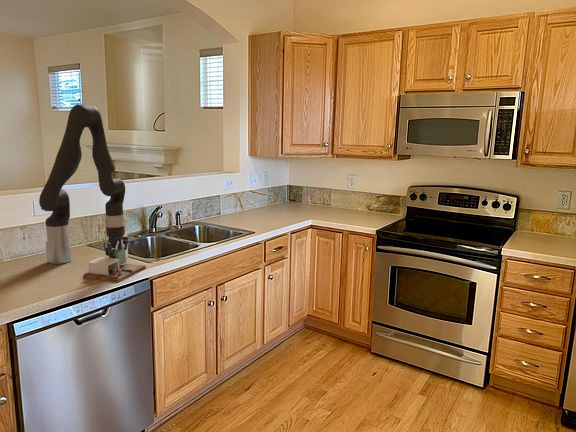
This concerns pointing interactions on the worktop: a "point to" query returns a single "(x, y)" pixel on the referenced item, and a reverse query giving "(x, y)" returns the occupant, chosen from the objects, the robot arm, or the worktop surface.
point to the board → (117, 273)
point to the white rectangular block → (103, 265)
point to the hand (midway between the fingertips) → (117, 262)
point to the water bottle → (125, 233)
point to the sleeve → (120, 255)
